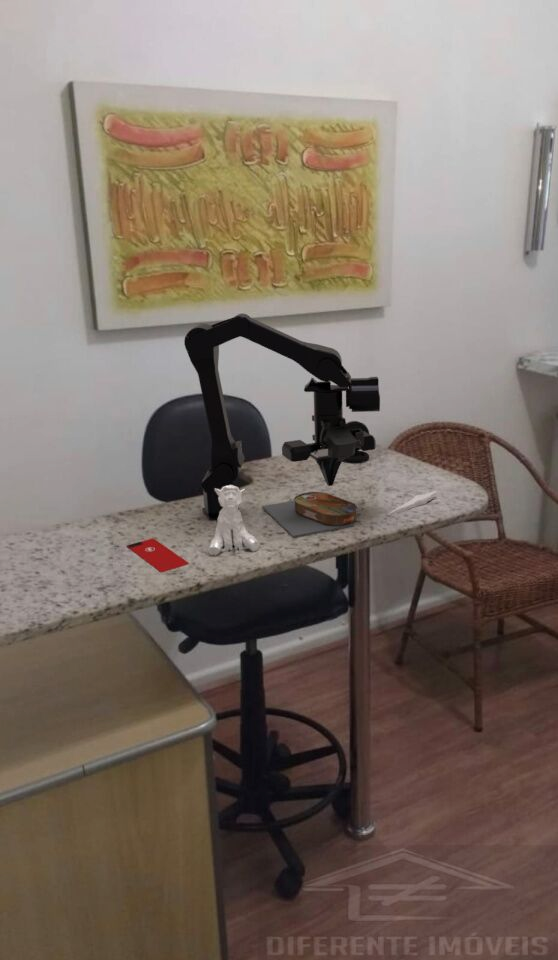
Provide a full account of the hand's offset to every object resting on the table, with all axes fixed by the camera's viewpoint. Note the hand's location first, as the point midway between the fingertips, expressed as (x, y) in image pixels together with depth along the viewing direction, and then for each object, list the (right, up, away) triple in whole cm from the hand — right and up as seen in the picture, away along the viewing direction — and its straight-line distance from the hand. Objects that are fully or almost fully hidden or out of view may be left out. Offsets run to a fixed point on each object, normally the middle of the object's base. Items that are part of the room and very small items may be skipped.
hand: (329, 485), depth 155 cm
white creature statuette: (-20, -12, -12) cm, 26 cm away
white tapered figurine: (+18, -5, +4) cm, 19 cm away
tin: (+2, -4, +2) cm, 5 cm away
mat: (-5, -7, 0) cm, 8 cm away
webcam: (+9, +6, +36) cm, 38 cm away
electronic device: (-33, -14, -15) cm, 39 cm away
